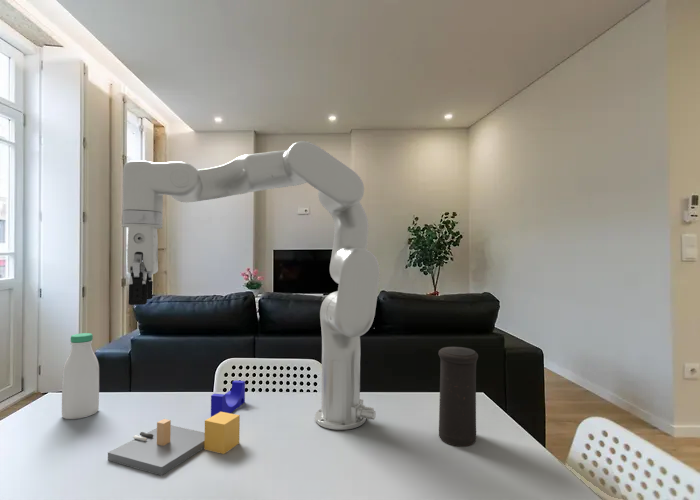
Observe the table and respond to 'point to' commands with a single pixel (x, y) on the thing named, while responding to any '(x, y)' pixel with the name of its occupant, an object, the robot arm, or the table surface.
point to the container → (457, 396)
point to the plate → (159, 448)
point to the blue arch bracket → (228, 399)
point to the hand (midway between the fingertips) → (141, 301)
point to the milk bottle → (80, 379)
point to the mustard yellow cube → (222, 432)
